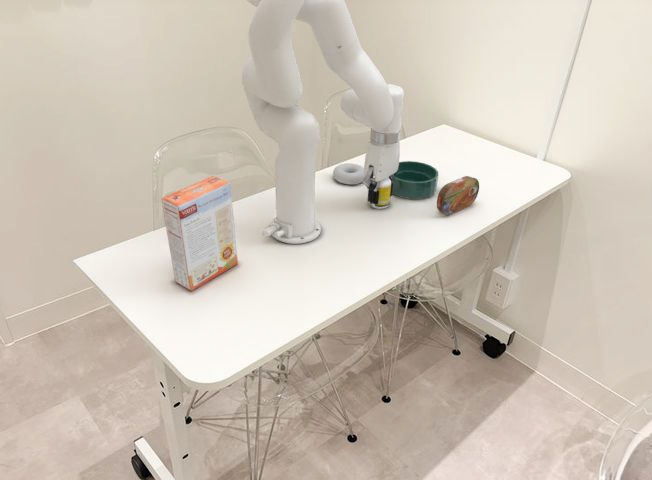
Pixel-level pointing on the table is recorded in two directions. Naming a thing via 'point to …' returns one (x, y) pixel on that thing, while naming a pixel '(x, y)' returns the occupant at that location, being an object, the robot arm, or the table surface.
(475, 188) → the tin
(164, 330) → the table surface
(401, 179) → the teal round bowl
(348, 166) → the donut
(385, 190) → the supplement bottle
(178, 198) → the cracker box
